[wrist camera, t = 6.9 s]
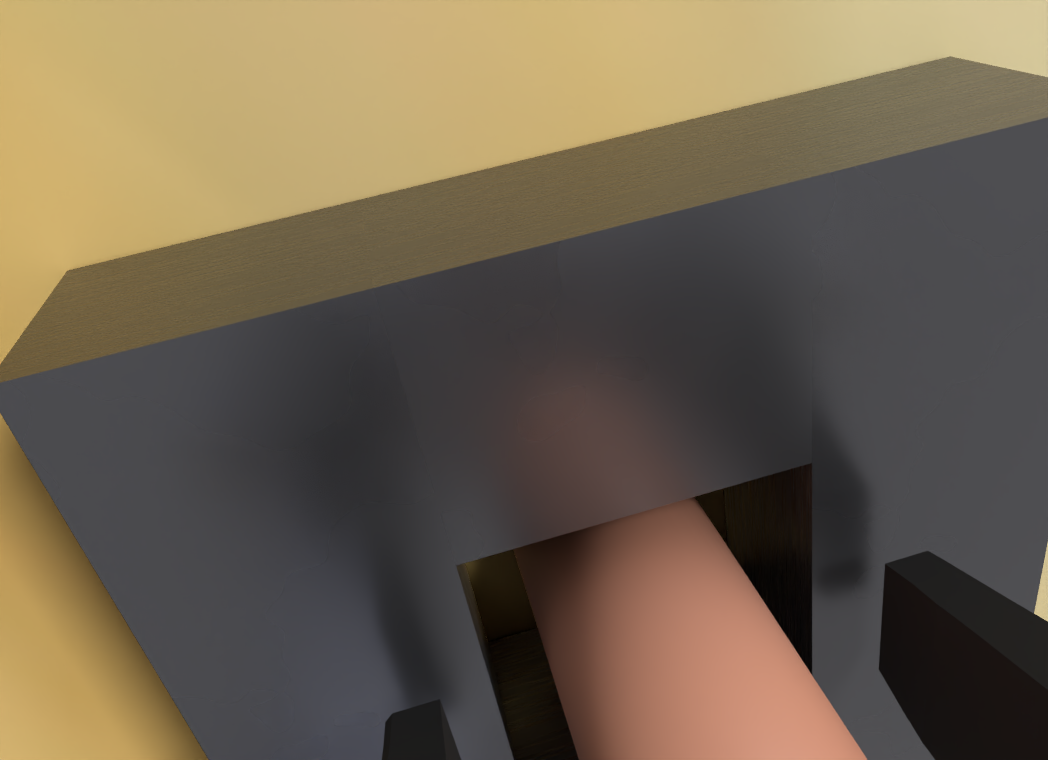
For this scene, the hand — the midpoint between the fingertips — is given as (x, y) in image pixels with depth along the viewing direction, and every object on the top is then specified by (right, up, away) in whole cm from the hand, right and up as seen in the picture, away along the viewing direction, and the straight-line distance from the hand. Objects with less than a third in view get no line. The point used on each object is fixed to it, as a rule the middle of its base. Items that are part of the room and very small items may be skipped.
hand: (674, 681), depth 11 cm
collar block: (-1, +2, +3) cm, 4 cm away
